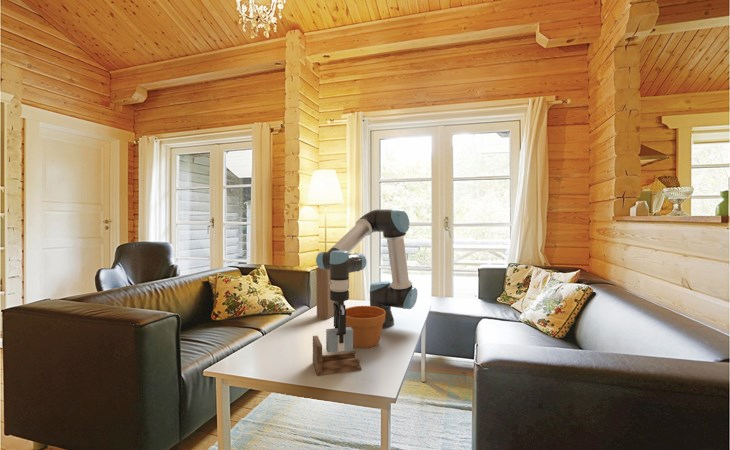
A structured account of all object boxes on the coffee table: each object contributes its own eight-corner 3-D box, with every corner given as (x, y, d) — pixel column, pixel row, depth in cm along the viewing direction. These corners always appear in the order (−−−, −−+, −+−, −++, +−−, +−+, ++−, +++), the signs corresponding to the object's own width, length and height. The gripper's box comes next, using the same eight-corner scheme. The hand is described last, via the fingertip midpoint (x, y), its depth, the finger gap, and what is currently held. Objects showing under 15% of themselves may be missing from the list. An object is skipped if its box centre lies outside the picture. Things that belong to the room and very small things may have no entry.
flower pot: (377, 353, 147) (377, 319, 147) (333, 347, 154) (333, 315, 154) (391, 337, 167) (390, 307, 167) (351, 333, 174) (351, 304, 174)
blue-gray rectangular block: (350, 346, 138) (350, 326, 138) (353, 350, 134) (353, 329, 134) (326, 349, 135) (326, 329, 135) (328, 352, 131) (327, 332, 131)
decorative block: (327, 319, 198) (327, 268, 197) (316, 318, 201) (316, 267, 200) (339, 312, 212) (339, 264, 211) (328, 311, 215) (328, 264, 214)
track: (353, 357, 143) (353, 331, 142) (361, 369, 131) (360, 341, 131) (312, 362, 138) (312, 335, 138) (317, 375, 126) (316, 346, 126)
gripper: (326, 286, 142) (326, 342, 142) (334, 294, 125) (334, 357, 125) (344, 285, 144) (344, 340, 144) (354, 293, 127) (354, 355, 128)
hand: (339, 348), depth 135 cm, fingers closed on blue-gray rectangular block, 4 cm apart
